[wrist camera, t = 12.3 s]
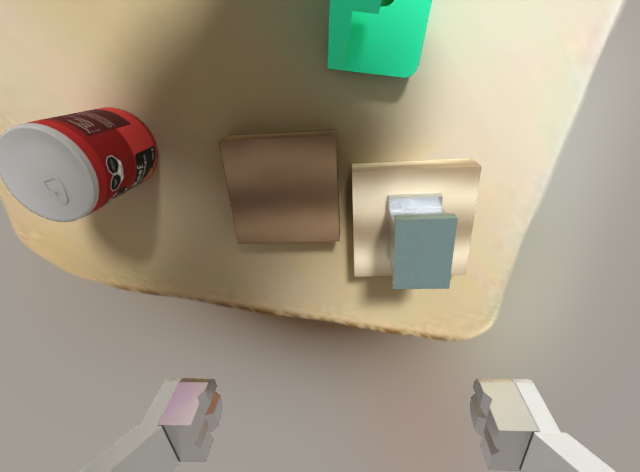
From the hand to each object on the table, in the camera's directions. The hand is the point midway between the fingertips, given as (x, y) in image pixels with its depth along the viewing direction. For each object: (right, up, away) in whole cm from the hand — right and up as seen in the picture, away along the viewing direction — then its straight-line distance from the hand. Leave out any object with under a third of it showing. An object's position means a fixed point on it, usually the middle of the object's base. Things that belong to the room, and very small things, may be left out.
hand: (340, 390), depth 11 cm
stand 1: (-4, +10, +27) cm, 29 cm away
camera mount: (+5, +25, +19) cm, 32 cm away
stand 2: (+9, +7, +27) cm, 30 cm away
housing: (+9, +6, +25) cm, 27 cm away
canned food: (-21, +15, +26) cm, 37 cm away
